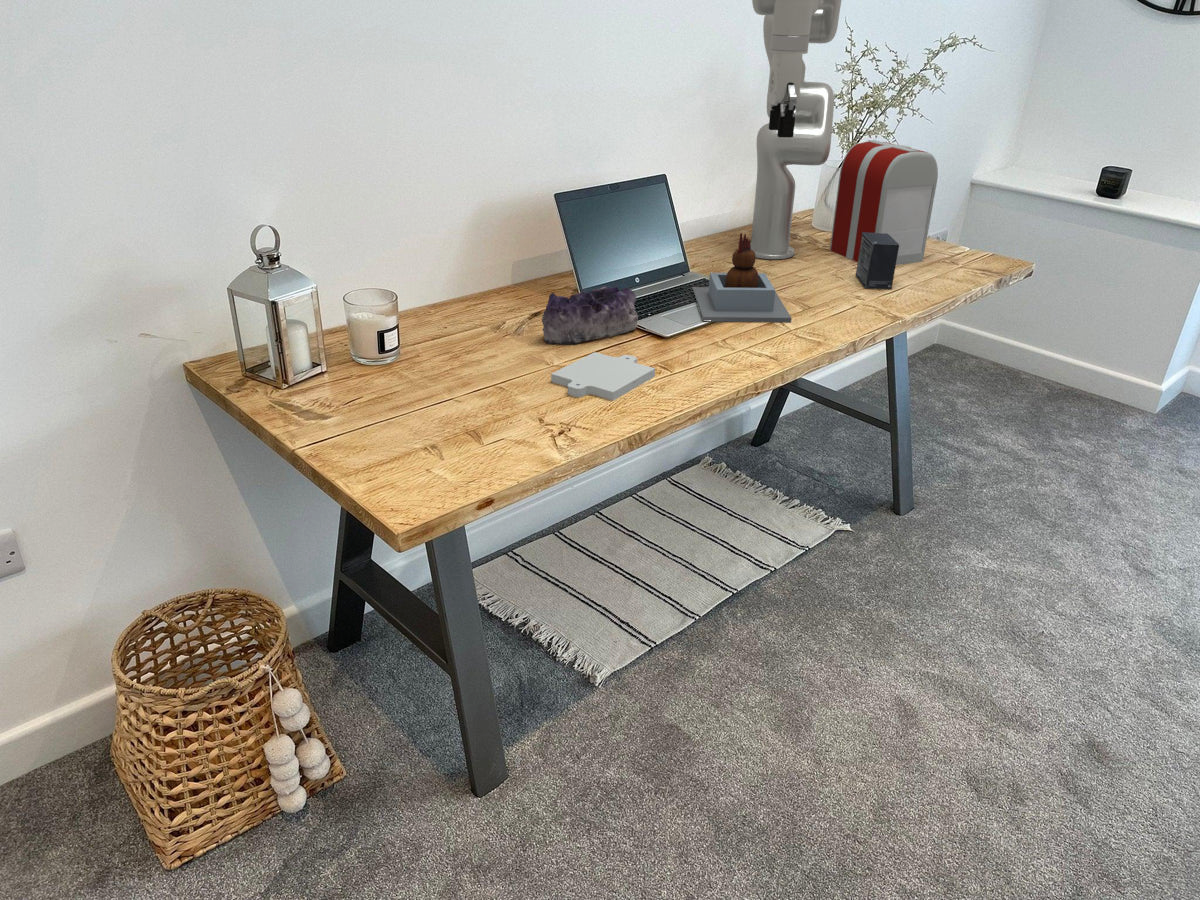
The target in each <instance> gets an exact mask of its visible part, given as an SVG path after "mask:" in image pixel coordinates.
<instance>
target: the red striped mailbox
mask: <svg viewBox="0 0 1200 900" xmlns="http://www.w3.org/2000/svg"><path fill="white" fill-rule="evenodd" d="M839 170H840V171H839V178H838V185H837V191H836V200H835V209H834V217H833V223H832V230H831V237H830V245H829V251H831V252H833V253H835V254H838V255H839V256H842V257H844V258H846V259H848V260H851V261H854V262H857V263H858V258H859V252H860V246H861V239H862V232H868V233H886V234H889V235H890V236H891V237H892V238H893V239H894V240H895V241H896V242H897V243H898V244H899V250H898V255H897V261H896V266H897V265H898V266H899V265H906V264H915V263H922V262H924V256H925V250H926V246H927V239H928V233H929V228H930V225H931V224H930V223H931V218H932V212H933V205H934V202H935V200H934V199H935V195H936V190H937V183H938V177H939V176H938V175H939V171H938V163H937V160H936V157H935V156H934V155H933V154H932V153H930V152H928V151H923V150H919V149H915V148H912V147H911V146H908V145H903V144H895V143H890V142H887V141H880V140H876V139H871V140H867V141H863V142H860V143H859V142H858V143H855V144H854V145H853V146H851V147H850V148H849V150H848V151H847V152H846V154H845V156H844V158H843V160H842V163H841V165H840V169H839Z"/></svg>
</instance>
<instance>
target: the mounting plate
mask: <svg viewBox="0 0 1200 900" xmlns="http://www.w3.org/2000/svg"><path fill="white" fill-rule="evenodd" d="M550 376H551V377H550V380H551V381H550V382H551V383H553V384H557V385H560V386H563V387H567V395H569V396H571V397H574V398H583V397H585V396H587V395H592V396H597V397H600V398H602V399H606V400H609V401H615V400H617V399H618V398H620V397H622V396H623V395H625V394H627V393H629V392H631V391H632V390H634V389H636V388H638V387H639V386H641V385H643V384H644V383H646V382H648V381H650V380H651V379H653V378H654V377H655V376H656V368H655V367H652V366H648V365H644V364H640V363H638V358H637V357H636V356H634V355H630V354H622V355H621V356H615V357H614V356H610V355H607V354H603V353H600V352H595V351H594V352H592V353H589V354H588V355H586V356H584V357H583V358H580V359H578V360H575V361H574V362H572V363H570V364H568V365H566V366H564V367H562V368H560V369H558V370H556V371H553V372H552V373H550Z"/></svg>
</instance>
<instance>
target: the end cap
mask: <svg viewBox="0 0 1200 900" xmlns="http://www.w3.org/2000/svg"><path fill="white" fill-rule="evenodd" d="M727 273H728V272H709V276H708V277H709V279H708V286H692V290H693V292H694V294H693V296H694V295H695V297H694V299H695V298H696V300H695V302H696V301H697V303H696V305H697V304H698V306H697V308H698V307H699V309H698V311H699V310H700V311H699V314H700V313H701V314H700V316H701V315H702V317H701V319H702V318H703V320H711V322H712V323H792V316H791V315H790V313H789V311H788V310H787V308H786V306H785V304H784V302H783V301H782V300H781V298H780V297H779V294H778V293H777V291H776V289H775V287H774V286H773V284H772V282H771V281H770V279H769V277H768V276H767V274H766V273H765V272H758V276H759V278H758V287H757V288H725V280H726V275H727ZM693 292H692V293H693ZM703 320H702V321H703Z"/></svg>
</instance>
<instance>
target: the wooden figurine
mask: <svg viewBox="0 0 1200 900" xmlns="http://www.w3.org/2000/svg"><path fill="white" fill-rule="evenodd" d="M756 260H757V258H756V255H755V252H754V251H753V250H751V241H750V240H749V237H747V233H744V234H743V232H740V233H739V242H738V249H736V250H735V251H734V252H733V254H732V256H731V263H732V265H733V267H731V268H730V269H729V270H728V271H727V272H726V273H727V275H726V280H725V288H757V287H758V278H759V276H758V273H759V272H758V270H757V269H756V267H754V265H755V264H756Z"/></svg>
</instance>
